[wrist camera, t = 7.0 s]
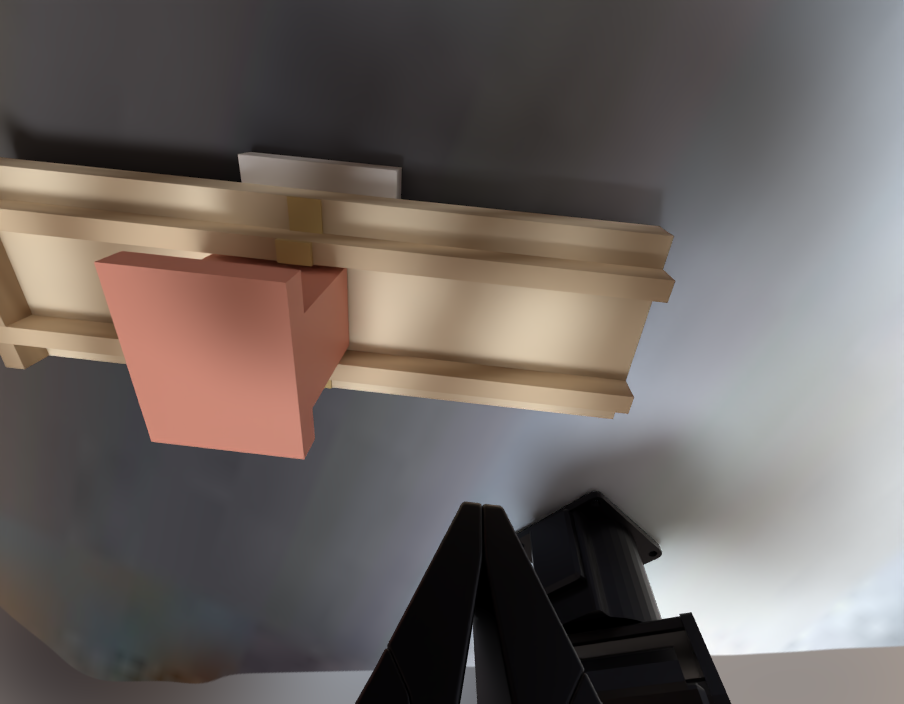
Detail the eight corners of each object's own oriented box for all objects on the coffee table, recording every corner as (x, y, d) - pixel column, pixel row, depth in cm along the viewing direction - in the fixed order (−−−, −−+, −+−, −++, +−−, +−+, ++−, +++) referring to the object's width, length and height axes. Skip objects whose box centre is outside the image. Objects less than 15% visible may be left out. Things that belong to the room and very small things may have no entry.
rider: (345, 231, 16) (285, 282, 11) (350, 371, 19) (304, 459, 14) (209, 216, 16) (94, 262, 11) (235, 358, 19) (151, 441, 14)
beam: (658, 193, 17) (701, 215, 14) (595, 404, 22) (614, 458, 18) (2, 126, 17) (-115, 131, 14) (83, 346, 22) (11, 389, 19)
